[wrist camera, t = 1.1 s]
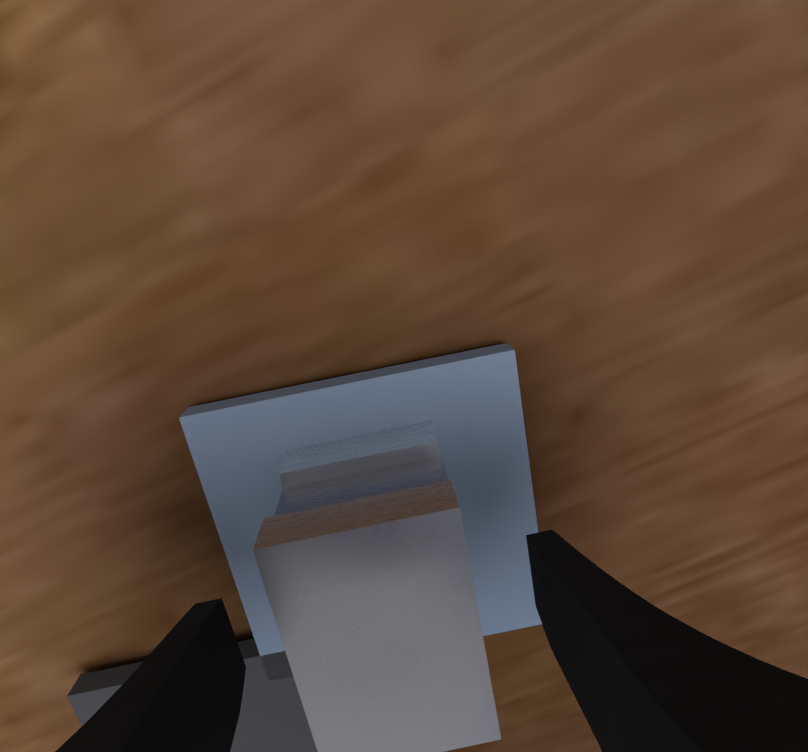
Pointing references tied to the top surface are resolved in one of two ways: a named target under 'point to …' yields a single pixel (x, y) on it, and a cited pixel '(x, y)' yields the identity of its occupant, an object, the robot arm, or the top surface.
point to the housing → (378, 596)
